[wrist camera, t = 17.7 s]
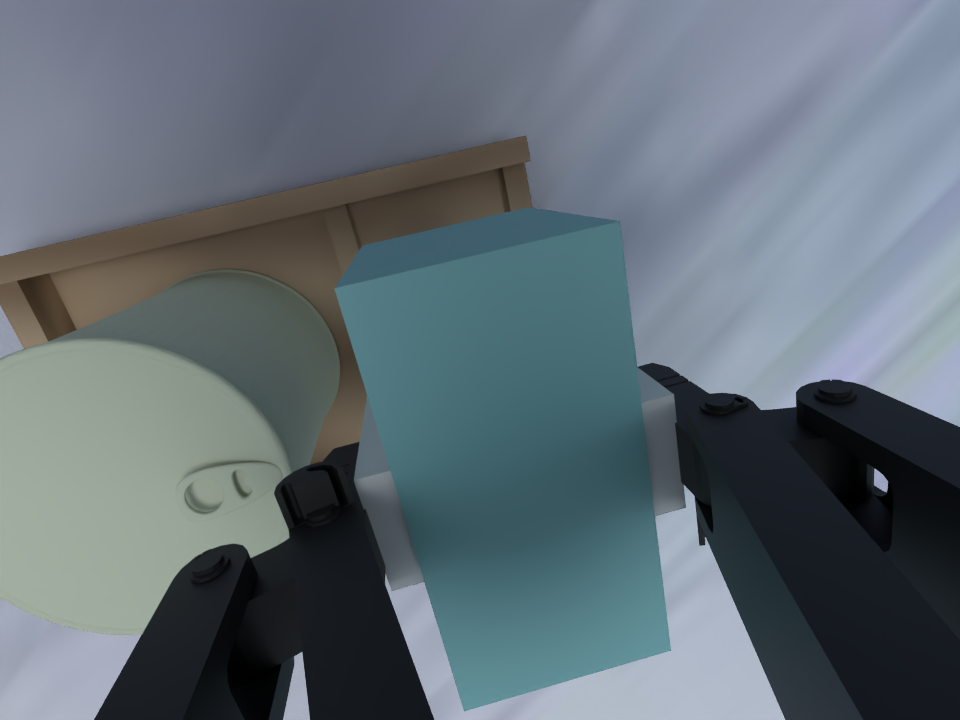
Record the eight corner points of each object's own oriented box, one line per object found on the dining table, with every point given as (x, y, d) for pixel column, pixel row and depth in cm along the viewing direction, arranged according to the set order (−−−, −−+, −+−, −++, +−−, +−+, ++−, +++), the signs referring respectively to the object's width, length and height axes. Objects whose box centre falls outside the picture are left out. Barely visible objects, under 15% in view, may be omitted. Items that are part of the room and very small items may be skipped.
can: (358, 434, 27) (328, 612, 16) (171, 469, 26) (-1, 683, 15) (315, 253, 24) (241, 312, 13) (102, 286, 23) (-179, 381, 12)
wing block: (362, 245, 15) (334, 288, 9) (528, 207, 16) (619, 221, 9) (441, 527, 19) (464, 711, 12) (577, 490, 19) (670, 650, 12)
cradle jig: (31, 252, 24) (-24, 261, 20) (510, 141, 25) (526, 135, 22) (162, 512, 28) (133, 551, 25) (559, 407, 30) (577, 432, 27)
